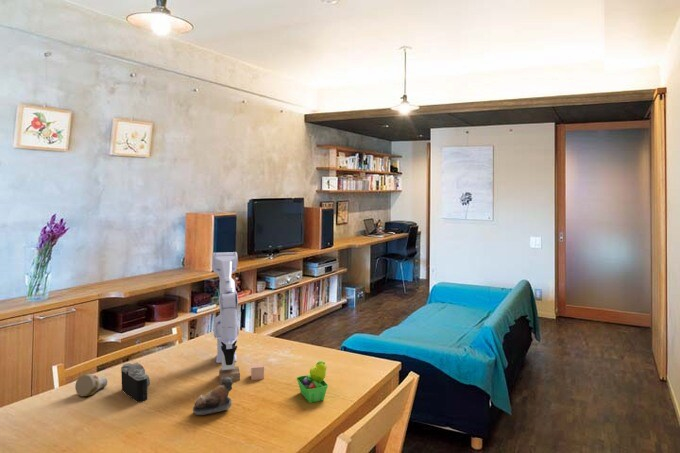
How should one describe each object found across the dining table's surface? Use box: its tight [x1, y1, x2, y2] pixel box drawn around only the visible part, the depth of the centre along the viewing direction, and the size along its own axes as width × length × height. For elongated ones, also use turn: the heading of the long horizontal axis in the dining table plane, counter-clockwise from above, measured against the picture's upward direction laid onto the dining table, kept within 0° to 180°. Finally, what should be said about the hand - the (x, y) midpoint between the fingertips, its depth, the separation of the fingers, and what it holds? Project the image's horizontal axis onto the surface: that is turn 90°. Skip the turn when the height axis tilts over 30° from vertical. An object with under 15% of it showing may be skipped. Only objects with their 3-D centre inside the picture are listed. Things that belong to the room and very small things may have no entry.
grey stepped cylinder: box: [74, 373, 108, 397], centre depth 150 cm, size 8×10×10 cm
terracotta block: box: [250, 362, 265, 381], centre depth 163 cm, size 4×4×4 cm
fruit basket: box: [296, 360, 329, 404], centre depth 147 cm, size 11×9×11 cm
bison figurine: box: [192, 376, 234, 416], centre depth 136 cm, size 12×7×10 cm, turn 114°
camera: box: [120, 362, 151, 403], centre depth 148 cm, size 15×7×10 cm, turn 47°
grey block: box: [221, 353, 236, 370], centre depth 162 cm, size 4×4×4 cm
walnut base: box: [218, 365, 241, 383], centre depth 162 cm, size 7×7×3 cm
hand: (229, 362), depth 162 cm, fingers closed on grey block, 4 cm apart
